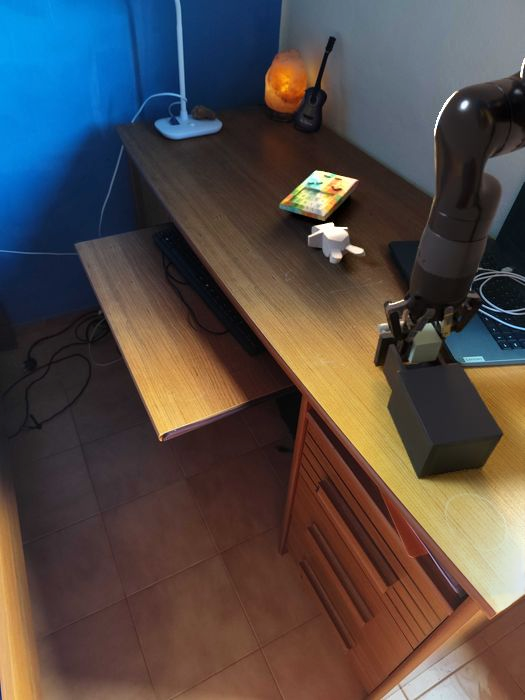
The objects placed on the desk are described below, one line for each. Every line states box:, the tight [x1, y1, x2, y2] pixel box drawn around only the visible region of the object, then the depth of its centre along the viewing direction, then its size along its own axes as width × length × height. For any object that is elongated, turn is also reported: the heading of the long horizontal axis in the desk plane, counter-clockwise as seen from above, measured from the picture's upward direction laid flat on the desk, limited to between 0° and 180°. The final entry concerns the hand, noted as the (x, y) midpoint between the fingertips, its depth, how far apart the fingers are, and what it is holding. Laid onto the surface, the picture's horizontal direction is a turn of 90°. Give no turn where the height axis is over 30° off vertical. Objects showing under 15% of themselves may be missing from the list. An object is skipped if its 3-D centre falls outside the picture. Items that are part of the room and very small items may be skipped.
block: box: [408, 322, 442, 365], centre depth 69 cm, size 4×4×4 cm
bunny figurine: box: [307, 222, 366, 264], centre depth 101 cm, size 10×5×15 cm
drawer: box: [373, 320, 447, 391], centre depth 74 cm, size 16×8×7 cm, turn 9°
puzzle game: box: [278, 170, 360, 222], centre depth 115 cm, size 12×5×20 cm
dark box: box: [386, 362, 504, 479], centre depth 66 cm, size 13×10×9 cm
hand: (418, 351), depth 71 cm, fingers closed on block, 4 cm apart
